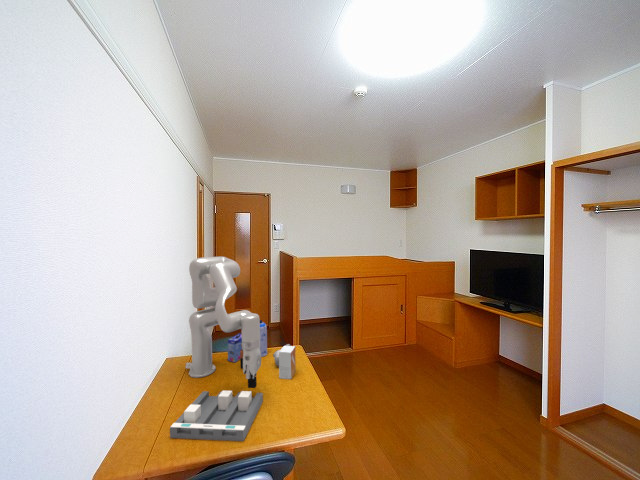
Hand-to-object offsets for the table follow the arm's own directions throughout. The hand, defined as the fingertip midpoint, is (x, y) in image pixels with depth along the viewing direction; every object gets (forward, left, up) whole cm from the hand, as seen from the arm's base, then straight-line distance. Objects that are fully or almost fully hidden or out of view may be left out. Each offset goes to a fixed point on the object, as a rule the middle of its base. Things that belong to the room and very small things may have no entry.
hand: (252, 386), depth 113 cm
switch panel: (-8, -12, -6) cm, 15 cm away
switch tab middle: (-8, -8, -4) cm, 12 cm away
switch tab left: (-16, -17, -4) cm, 24 cm away
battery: (-12, +28, -6) cm, 31 cm away
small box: (+11, +21, -6) cm, 24 cm away
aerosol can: (-10, +44, -6) cm, 46 cm away
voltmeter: (+5, +38, -6) cm, 38 cm away
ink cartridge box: (-22, +38, -6) cm, 45 cm away
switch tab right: (0, -8, -4) cm, 9 cm away
